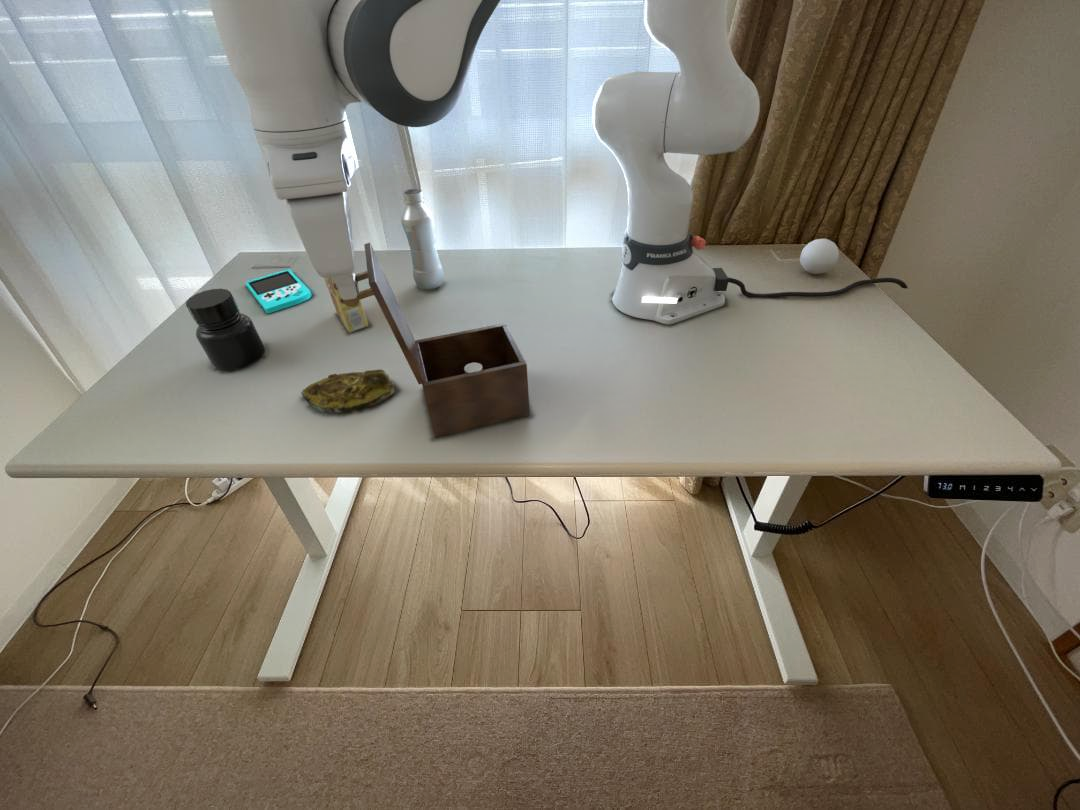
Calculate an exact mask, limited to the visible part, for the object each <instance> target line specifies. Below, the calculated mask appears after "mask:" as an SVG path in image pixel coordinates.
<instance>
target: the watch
mask: <svg viewBox="0 0 1080 810" xmlns="http://www.w3.org/2000/svg"><path fill="white" fill-rule="evenodd" d="M481 370H483V367H482V365H481V364H479V363H469V364H467V365H466V366H465V367H464V371H465V374H467V373H471V372H476V371H481Z"/></svg>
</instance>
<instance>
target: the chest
mask: <svg viewBox="0 0 1080 810" xmlns="http://www.w3.org/2000/svg"><path fill="white" fill-rule="evenodd" d="M415 343H416V348H417V352H418V356H419V361H420V365H421V369H422V374H423V378H424V383H422V384H421V387H422V390H423V394H424V395H423V396H424V399H425V403H426V408H427V412H428V416H429V420H430V423H431V427H432V432H433V437H434V438H440V437H445V436H448V435H453V434H457V433H462V432H466V431H470V430H474V429H478V428H483V427H487V426H492V425H495V424H498V423H504V422H507V421H511V420H516V419H521V418H524V417H530V413H531V412H530V396H529V381H528V364H527V362H526V359H525V358H524V356H523V354H522V353H521V350H520V348H519V346H518V344H517V342H516V341H515V339H514V336H513V334H512V332H511V330H510V329H509V327H508V324H507V323H506V322H503V323H499V324H494V325H487V326H483V327H478V328H473V329H467V330H462V331H456V332H452V333H447V334H442V335H441V334H440V335H436V336H432V337H431V336H430V337H426V338H420V339H415ZM469 363H479V364H481V365H482V367H483V370H481V371H476V372H471V373H467V374H465V371H464V367H465V366H466V365H467V364H469Z"/></svg>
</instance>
